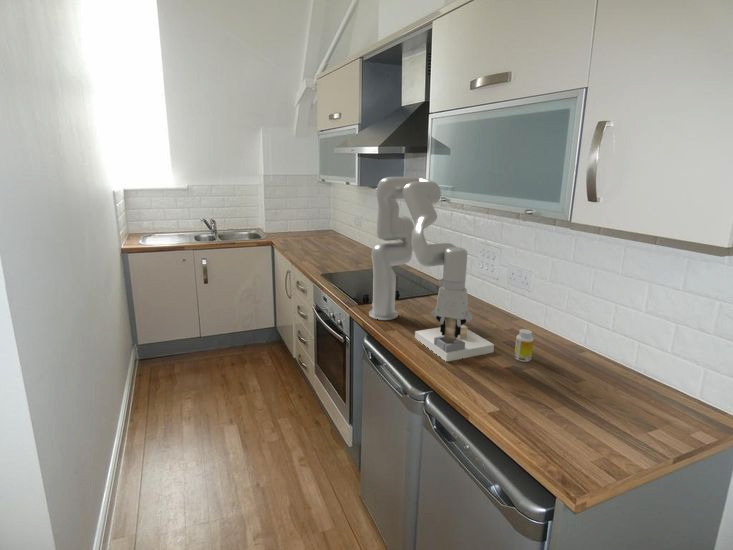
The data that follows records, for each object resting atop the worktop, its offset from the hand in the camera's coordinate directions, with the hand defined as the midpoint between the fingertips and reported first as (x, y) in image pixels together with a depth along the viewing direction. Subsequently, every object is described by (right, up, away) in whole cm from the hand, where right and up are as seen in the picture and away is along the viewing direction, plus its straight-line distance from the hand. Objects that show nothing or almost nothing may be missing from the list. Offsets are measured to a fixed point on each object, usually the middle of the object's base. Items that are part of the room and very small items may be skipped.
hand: (450, 334), depth 154 cm
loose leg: (0, -1, 0) cm, 1 cm away
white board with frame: (+3, -5, +10) cm, 11 cm away
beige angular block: (+4, -1, +14) cm, 14 cm away
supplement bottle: (+25, -8, 0) cm, 26 cm away
